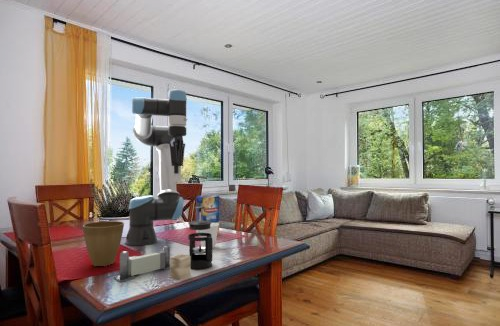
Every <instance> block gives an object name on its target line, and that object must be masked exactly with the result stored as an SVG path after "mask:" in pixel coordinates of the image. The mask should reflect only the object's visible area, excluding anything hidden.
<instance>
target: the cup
mask: <svg viewBox="0 0 500 326" xmlns="http://www.w3.org/2000/svg"><path fill="white" fill-rule="evenodd" d="M218 225H219V226H220V223H219V224H218V223H211V224H210V229H206V230H201V233H210V234H212V249H214V248H216V244H217V243H216V242H217V236H218V235H217V232H218ZM201 237H207V236H201ZM201 247H205V241H201Z"/></svg>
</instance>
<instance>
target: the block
mask: <svg viewBox="0 0 500 326" xmlns="http://www.w3.org/2000/svg"><path fill="white" fill-rule="evenodd" d="M191 270H192V269H191V256H189V255H187V254H183V253H179V254H176V255H174V256H170V269H169V279H170V278H171V279H175V280H180V281H183V280H184V279H186V278H188V277H190V276H191V275H192V274H191Z"/></svg>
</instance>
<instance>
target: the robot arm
mask: <svg viewBox="0 0 500 326" xmlns="http://www.w3.org/2000/svg"><path fill="white" fill-rule="evenodd" d="M187 101H188V99H187V93H186V91H185V90H181V89H171V90H169V91H168V99H166V98H154V97H144V96H143V97H142V96H140V97H139V96H138V97H134V96H133V97H132V99H131V105H132V106H131V112H132V114H134V115H135V124H134V126H133V129H132V133H133V136H134V138H135V139H136V140H137V141H138V142H139V143H140V144H142V145H144V146H148V147H155V148H156V151H158V161H159V165H158V166H159V189H160V190H159V192H158V193H157V197H154V195H143V196H138V197H134V198H132V199H131V198H130V200H129V207H128V210H129V221H128V222H129V227H128V232H127V235H126V236H125V244H126V245H129V246H146V245H152V244H154V243H157V242H158V235H157V233H156V230H155V227H154V221H156V222H157V221H158V222H159V221H174V220H179V219H180V218H181V217H182V213H183V210H184V197H183V196H180V192H178V191H177V190H178V189H177V182H182V167H183V166H184V159H185V148H186V143H184V139H183V137H186V135H187V121H188V118H187ZM153 116H160V117H161V116H162V117H168V123H167V124H168V125H165V126H164V125H152V123H153Z"/></svg>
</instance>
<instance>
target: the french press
mask: <svg viewBox="0 0 500 326" xmlns="http://www.w3.org/2000/svg"><path fill="white" fill-rule="evenodd" d="M203 208H205V207H194V209H199V212H200V221H196V220H193V221H189V222H188V225H189V229H190V230H192V231H196V230H200V233H196V232H194V233H190V234H188V241H189V246H188V247H189V249H188V250H189V252H188V254H189V256H191V270H194V271H198V270H199V271H200V270H201V271H202V270H207V269H210V268H212V266H213V263H212V262H213V248H212V234H210V233H201V230H206V229H210V224H211V223H212V222H210V221H201V209H203ZM201 236H207V237H201ZM201 241H205V247H202V242H201ZM196 242H199V246H196Z"/></svg>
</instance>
